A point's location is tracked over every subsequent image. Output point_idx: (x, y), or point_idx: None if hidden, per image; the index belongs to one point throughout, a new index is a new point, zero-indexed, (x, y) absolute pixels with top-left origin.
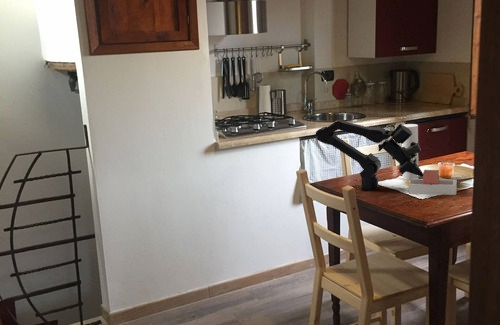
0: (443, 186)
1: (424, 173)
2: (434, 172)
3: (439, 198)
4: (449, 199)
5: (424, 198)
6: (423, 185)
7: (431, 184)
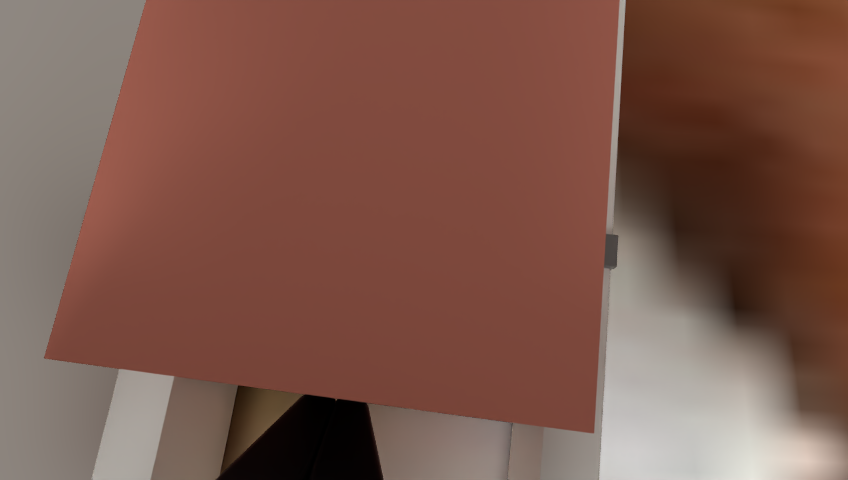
0: (617, 45)
1: (575, 378)
2: (455, 45)
3: (778, 189)
4: (808, 63)
5: (808, 420)
6: (596, 422)
7: (612, 245)
